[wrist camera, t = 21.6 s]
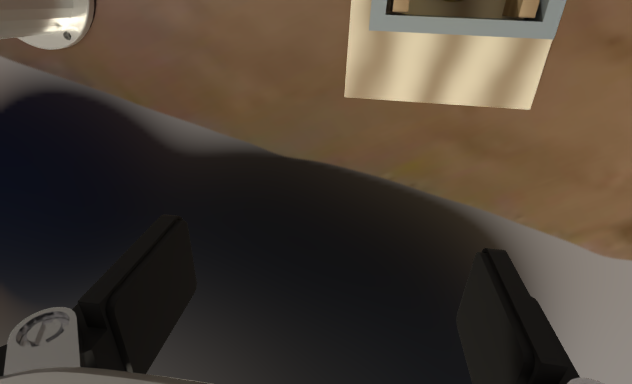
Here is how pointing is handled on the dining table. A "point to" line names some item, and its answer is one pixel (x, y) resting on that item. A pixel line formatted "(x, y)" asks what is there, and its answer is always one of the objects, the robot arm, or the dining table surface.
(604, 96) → the dining table surface
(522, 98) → the board
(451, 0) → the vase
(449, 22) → the grey bracket
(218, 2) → the dining table surface
